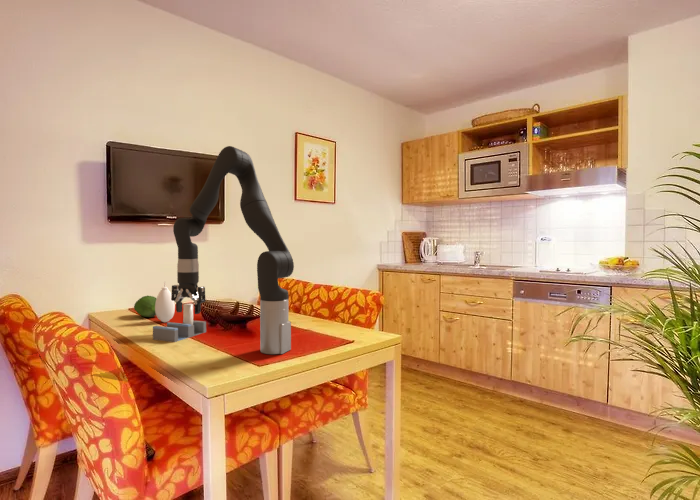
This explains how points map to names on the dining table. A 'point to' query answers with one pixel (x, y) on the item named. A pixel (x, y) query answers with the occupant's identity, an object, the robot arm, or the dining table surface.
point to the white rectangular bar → (188, 314)
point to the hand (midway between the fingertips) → (188, 313)
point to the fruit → (146, 306)
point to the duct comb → (178, 331)
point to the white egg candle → (164, 305)
